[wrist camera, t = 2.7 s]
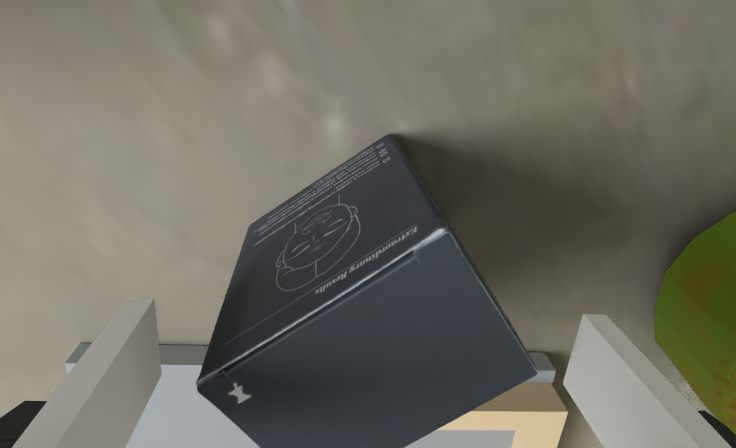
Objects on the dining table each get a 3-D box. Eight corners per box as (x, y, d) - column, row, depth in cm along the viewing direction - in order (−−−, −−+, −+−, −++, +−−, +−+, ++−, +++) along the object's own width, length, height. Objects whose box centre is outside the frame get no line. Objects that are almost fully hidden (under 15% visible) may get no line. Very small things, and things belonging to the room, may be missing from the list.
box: (318, 308, 24) (312, 504, 14) (247, 223, 22) (183, 385, 12) (454, 226, 23) (547, 380, 13) (392, 127, 21) (449, 224, 11)
